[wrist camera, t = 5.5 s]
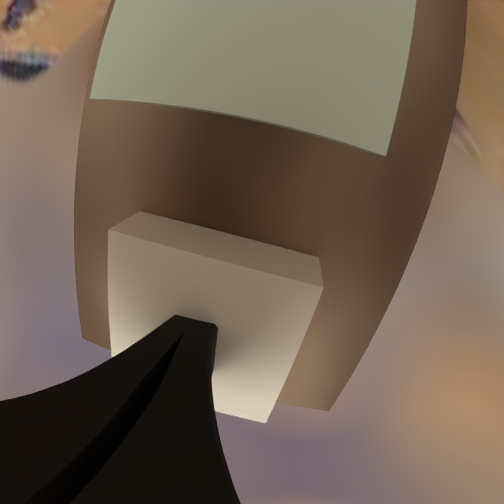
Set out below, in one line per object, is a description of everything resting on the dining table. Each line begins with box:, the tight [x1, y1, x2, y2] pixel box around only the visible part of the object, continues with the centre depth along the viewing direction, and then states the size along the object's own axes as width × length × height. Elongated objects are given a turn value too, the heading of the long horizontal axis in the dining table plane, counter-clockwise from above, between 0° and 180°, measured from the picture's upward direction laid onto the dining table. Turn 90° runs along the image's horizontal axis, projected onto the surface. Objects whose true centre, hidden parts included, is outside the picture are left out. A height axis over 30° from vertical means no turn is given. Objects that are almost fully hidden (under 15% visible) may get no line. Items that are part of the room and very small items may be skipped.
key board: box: [74, 0, 467, 411], centre depth 8 cm, size 12×27×2 cm, turn 168°
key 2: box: [108, 211, 324, 423], centre depth 10 cm, size 6×6×2 cm
